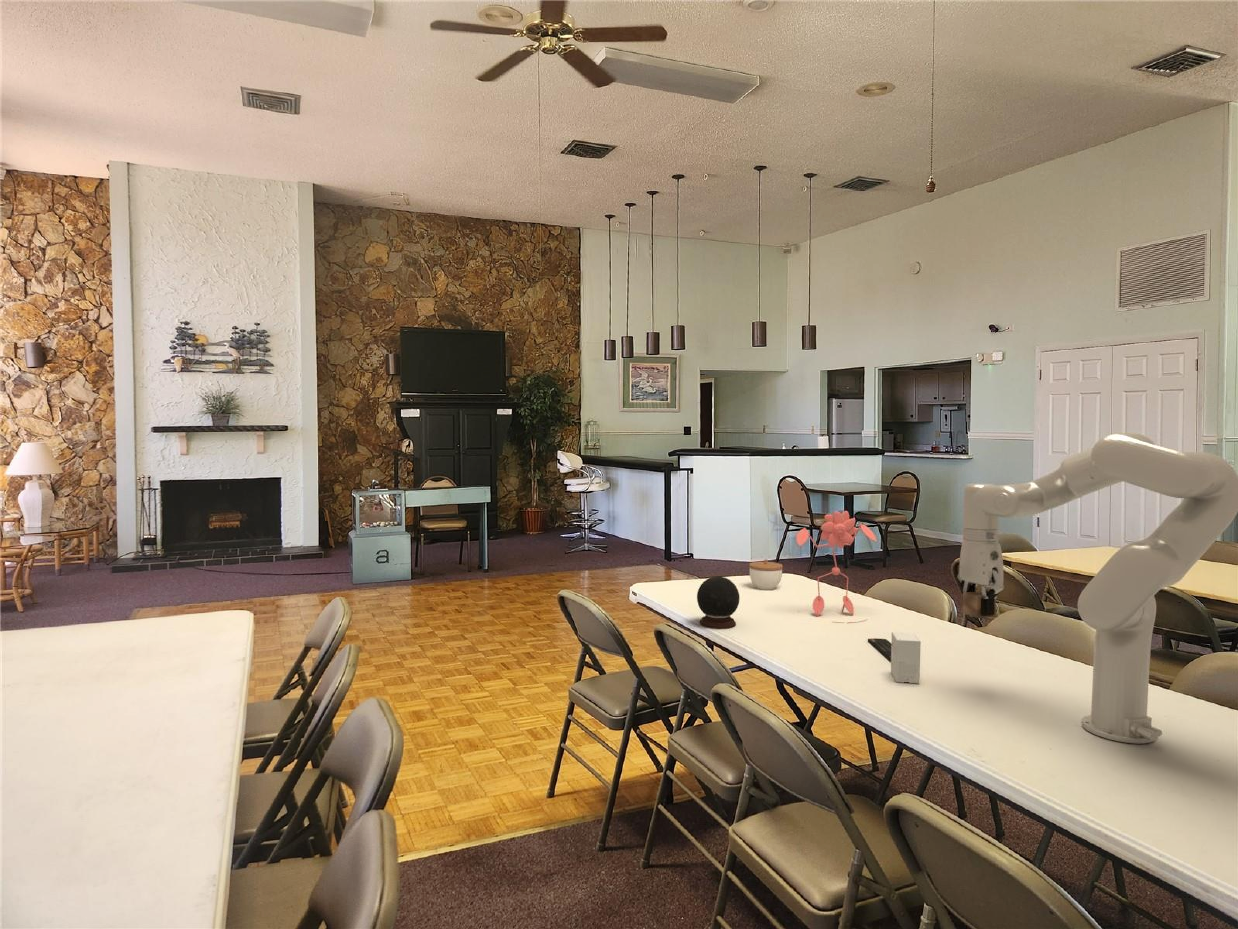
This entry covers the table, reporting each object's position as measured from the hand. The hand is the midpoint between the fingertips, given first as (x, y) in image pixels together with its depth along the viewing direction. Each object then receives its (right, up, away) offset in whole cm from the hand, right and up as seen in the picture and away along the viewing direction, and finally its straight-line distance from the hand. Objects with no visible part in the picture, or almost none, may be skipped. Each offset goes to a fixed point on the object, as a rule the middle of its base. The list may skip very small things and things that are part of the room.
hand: (979, 611), depth 178 cm
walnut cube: (0, -1, 0) cm, 1 cm away
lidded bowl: (-29, -13, +112) cm, 116 cm away
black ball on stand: (-54, -15, +57) cm, 80 cm away
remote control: (-11, -18, +29) cm, 35 cm away
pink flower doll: (-14, -15, +68) cm, 71 cm away
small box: (-14, -18, +9) cm, 25 cm away
